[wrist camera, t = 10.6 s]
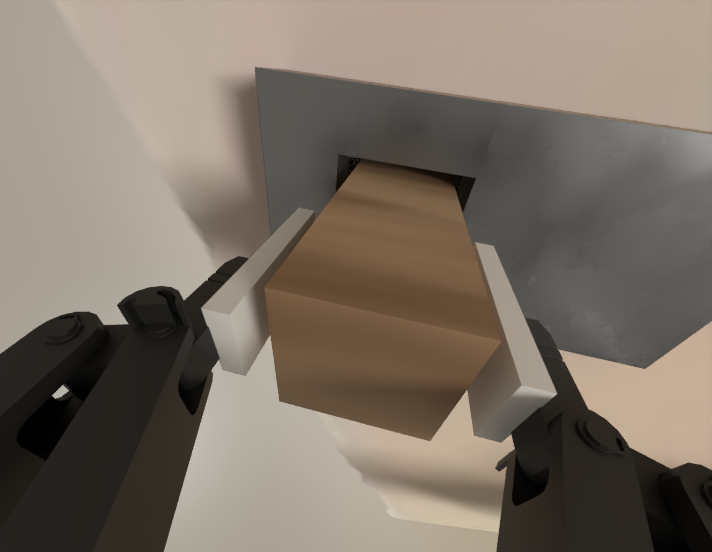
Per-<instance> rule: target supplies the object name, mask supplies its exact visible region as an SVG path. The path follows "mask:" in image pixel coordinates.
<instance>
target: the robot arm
mask: <svg viewBox="0 0 712 552" xmlns="http://www.w3.org/2000/svg"><path fill="white" fill-rule="evenodd" d="M314 221H315V211H313V210H308V209H303V208H298V209H297V210H296V211H295V212H294V213H293V214H292V215H291V216H290V217H289V218H288V219H287V220H286V221H285V222H284V223H283V224H282V225H281V226H280V227H279V228H278V229H277V230H276V231H275V233H274V234H273V235H272V236H271V237H270V238H269V239H268V240H267V241H266V242H265V243H264V244H263V245H262V246H261V247H260V248H259V249H258V250H257V251H256V252H255V253H254V254H253V255H252V256H251V257H250V258H245V257H241V256H238V257H236V258H234V259H232V260H230V261H228V262H226V263H224V264H223V265H222V266H221V267H220V268H219V269H218V270H217V271H216V273H214V274H212V275H211V276H210V277H209V278H208V281H205V282H204V283H203V284H202V285H201V286H200V287H199V288H197V289H196V290H195V291H194V292H193V293H192V294H191V295H190V296H189V297H188V298H187V299H186V300H184V301H183V299H182V296H181V295H180V293H179V291H178V290H175V289H174V288H172V287H165V286H157V287H149V288H146V289H142V290H139V291H136V292H135V293H133V294H131V295H129V296H127V297H125V298H124V299H123V300H122V301H121V302H120V303H119V304H118V305H117V306H118V307H119V309H120V311H121V312H122V314H123V316H124V317H125V319H126V321H127V322H128V324H124V325H103V323H102V322H101V321H100V319H99V318H98V316H97V315H96V314H93V313H90V312H73V313H69V314H64V315H61V316H58V317H56V318H53V319H51V320H49V321H47V322H45V323H43V324H42V325H40V326H38V327H37V328H35V329H34V330H33V331H31V332H30V333H28V334H27V335H26V336H24V337H23V338H22V339H20V340H19V341H18V342H16V343H15V344H13V345H12V346H11V347H10V348H8V349H6V350H5V351H4V352H2V353H1V354H0V552H164V549H165V545H166V542H167V538H168V535H169V531H170V528H171V524H172V520H173V517H174V513H175V510H176V507H177V503H178V500H179V496H180V492H181V489H182V486H183V482H184V478H185V475H186V471H187V468H188V464H189V461H190V458H191V454H192V450H193V447H194V443H195V440H196V437H197V433H198V429H199V426H200V422H201V419H202V416H203V412H204V409H205V405H206V402H207V398H208V394H209V391H210V388H211V384H212V379H213V373H212V371H211V370H212V368H213V367H214V365H215V364H216V363H217V361H218V360H219V361H220V364H221V367H222V369H223V370H225V371H229V372H233V373H236V374H240V375H244V376H245V375H246V374H247V372H248V371H249V369H250V367H251V366H252V364H253V362H254V360H255V359H256V357H257V355H258V354H259V352H260V350H261V349H262V347H263V346H264V344H265V342H266V341H267V339H268V337H269V336H270V327H269V319H268V312H267V304H266V297H265V289H264V287H265V286H266V285H267V283H268V282H269V281H270V279H271V278H272V277H273V275H274V274H275V273H276V271H277V270H278V269H279V267H280V266H281V265H282V263H283V262H284V261H285V260H286V258H287V257H288V256H289V254H290V253H291V252H292V250H293V249H294V248H295V246H296V245H297V244H298V242H299V241H300V240H301V238H302V237H303V236H304V235H305V233H306V232H307V231H308V229H309V228H310V227H311V225H312V224H313V223H314ZM473 249H474V252H475V255H476V258H477V262H478V265H479V268H480V271H481V275H482V278H483V281H484V285H485V288H486V291H487V294H488V298H489V301H490V304H491V307H492V311H493V314H494V317H495V320H496V324H497V327H498V330H499V333H500V337H501V340H502V342H501V343H500V344H499V346H498V347H497V349H496V350H495V351H494V353H493V354H492V356H491V357H490V358H489V360H488V361H487V363H486V364H485V365H484V367H483V368H482V370H481V371H480V372H479V374H478V375H477V376H476V378H475V379H474V381H473V382H472V383H471V385H470V386H469V388H468V389H467V390H468V397H469V404H470V411H471V418H472V424H473V431H474V436H478V437H482V438H485V439H489V440H493V441H497V442H502V441H504V440H505V439H506V438H507V437H508V436H509V435H511V434H512V438H513V442H514V446H515V449H514V450H513V451H512V452H510V453H509V454H508V455H506V456H505V457H504V458H503V459H501V460H500V461H499V462H498V464H497V466H496V468H495V469H496V470H498V471H501V470H502V469H503V468H505V467H506V466H507V470H506V478H505V486H504V495H503V503H502V511H501V519H500V527H499V535H498V543H497V552H712V470H710V469H708V468H706V467H704V466H702V465H698V464H693V463H686V464H684V465H681V466H679V467H676V468H673V469H670V468H668V467H666V466H664V465H662V464H660V463H658V462H656V461H655V460H653V459H651V458H649V457H647V456H645V455H643V454H641V453H639V452H637V451H635V450H633V449H631V448H630V447H629V446H628V444H627V442H626V441H625V440H624V438H623V437H622V436H621V434H620V433H619V432H618V430H617V429H616V428H614V427H613V426H612V425H611V424H610V423H609V422H608V421H607V420H606V419H604V418H603V417H601V416H600V415H598V414H596V413H595V412H593V411H591V410H589V409H588V408H587V406H586V404H585V402H584V400H583V398H582V396H581V394H580V392H579V390H578V388H577V386H576V384H575V382H574V380H573V378H572V376H571V374H570V372H569V370H568V368H567V366H566V364H565V362H563V361H562V359H563V358H562V356H561V354H560V352H559V350H557V346H556V344H555V342H554V340H553V338H552V336H551V334H550V333H549V332H548V331H547V330H546V329H545V328H544V326H543V325H542V324H541V323H540V322H539V321H538V320H534V319H530V318H525V317H524V315H523V313H522V311H521V308H520V306H519V304H518V301H517V299H516V297H515V295H514V292H513V290H512V288H511V285H510V283H509V281H508V278H507V276H506V274H505V271H504V269H503V267H502V264H501V262H500V260H499V257H498V255H497V253H496V250H495V248H494V246H492V245H487V244H482V243H477V242H475V244H474V246H473ZM62 385H64V386H65V387H66V388H67V389H68V390H69V391H68V392H67V393H66V394H64V395H63V396H62V397H60V398H57V399H55V398H54V397H53V396H52V395H53V394H54V393H55V392H56V391H57V390H58V389H59V388H60V387H61V386H62Z"/></svg>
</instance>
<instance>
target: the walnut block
mask: <svg viewBox="0 0 712 552" xmlns="http://www.w3.org/2000/svg"><path fill="white" fill-rule="evenodd" d="M264 289H265V297H266V304H267V312H268V319H269V327H270V334H271V341H272V349H273V356H274V364H275V371H276V379H277V386H278V393H279V401H280V402H284V403H288V404H292V405H295V406H300V407H303V408H307V409H311V410H314V411H318V412H322V413H326V414H329V415H333V416H337V417H341V418H345V419H348V420H352V421H356V422H360V423H363V424H367V425H371V426H375V427H379V428H382V429H386V430H390V431H394V432H397V433H401V434H405V435H409V436H412V437H416V438H420V439H424V440H428V441H430V440H431V439H432V438H433V436H434V435H435V433H436V432H437V431H438V429H439V428H440V427H441V425H442V424H443V422H444V421H445V420H446V418H447V417H448V415H449V414H450V413H451V411H452V410H453V408H454V407H455V406H456V404H457V403H458V401H459V400H460V399H461V397H462V396H463V395H464V393H465V392H466V390H467V389H468V388H469V386H470V385H471V383H472V382H473V381H474V379H475V378H476V376H477V375H478V374H479V372H480V371H481V370H482V368H483V367H484V365H485V364H486V363H487V361H488V360H489V358H490V357H491V356H492V354H493V353H494V351H495V350H496V349H497V347H498V346H499V344H500V343H501V342H502V340H501V337H500V333H499V330H498V327H497V324H496V320H495V317H494V314H493V311H492V307H491V304H490V301H489V298H488V294H487V291H486V288H485V285H484V281H483V278H482V275H481V271H480V268H479V265H478V262H477V258H476V255H475V252H474V249H473V245H472V242H471V239H470V236H469V232H468V229H467V226H466V223H465V219H464V216H463V213H462V210H461V206H460V203H459V200H458V197H457V193H456V190H455V187H454V184H453V180H452V177H451V174H449V173H444V172H438V171H432V170H426V169H421V168H415V167H409V166H403V165H398V164H392V163H386V162H380V161H375V160H369V159H363V158H362V159H361V161H360V162H359V163H358V165H357V166H356V167H355V169H354V170H353V171H352V173H351V174H350V175H349V177H348V178H347V179H346V181H345V182H344V183H343V184H342V186H341V187H340V188H339V190H338V191H337V192H336V194H335V195H334V196H333V198H332V199H331V200H330V202H329V203H328V204H327V206H326V207H325V208H324V210H323V211H322V212H321V213H320V215H319V216H318V217H317V219H316V220H315V221H314V223H313V224H312V225H311V227H310V228H309V229H308V231H307V232H306V233H305V235H304V236H303V237H302V238H301V240H300V241H299V242H298V244H297V245H296V246H295V248H294V249H293V250H292V252H291V253H290V254H289V256H288V257H287V258H286V260H285V261H284V262H283V263H282V265H281V266H280V267H279V269H278V270H277V271H276V273H275V274H274V275H273V277H272V278H271V279H270V281H269V282H268V283H267V285H266V286H265V287H264Z"/></svg>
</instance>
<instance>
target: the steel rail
mask: <svg viewBox="0 0 712 552" xmlns="http://www.w3.org/2000/svg"><path fill="white" fill-rule="evenodd" d="M255 74H256V84H257V95H258V105H259V115H260V125H261V136H262V146H263V156H264V167H265V177H266V187H267V197H268V208H269V218H270V228H271V236H272V235H273V234H274V233H275V231H276V230H277V229H278V228H279V227H280V226H281V225H282V224H283V223H284V222H285V221H286V220H287V219H288V218H289V217H290V216H291V215H292V214H293V213H294V212H295V211H296V210H297V209H298V208H303V209H308V210H313V211H315V220H316V219H317V217H318V216H319V215H320V213H321V212H322V211H323V210H324V208H325V207H326V206H327V204H328V203H329V202H330V200H331V199H332V198H333V196H334V195H335V194H336V192H337V191H338V190H339V188H340V187H341V186H342V184H343V183H344V182H345V181H346V179H347V178H348V176H349V165H350V156H352V157H358V158H363V159H369V160H375V161H380V162H386V163H392V164H398V165H403V166H409V167H415V168H421V169H426V170H432V171H438V172H444V173H449V174H455V175H461V176H462V178H461V181H460V184H459V187H458V190H457V192H456V193H457V197H458V200H459V203H460V206H461V210H462V213H463V216H464V219H465V223H466V226H467V229H468V232H469V236H470V239H471V242H472V245H473V246H474V244H475V242H477V243H482V244H487V245H492V246H494V248H495V250H496V253H497V255H498V257H499V260H500V262H501V264H502V267H503V269H504V271H505V274H506V276H507V278H508V281H509V283H510V285H511V288H512V290H513V292H514V295H515V297H516V299H517V301H518V304H519V306H520V308H521V311H522V313H523V315H524V317H525V318H530V319H534V320H538V321H539V322H540V323H541V324H542V325H543V326H544V328H545V329H546V330H547V331H548V332H549V333H550V334H551V336H552V338H553V340H554V342H555V344H556V346H557V349H559V350H564V351H568V352H572V353H577V354H581V355H586V356H590V357H595V358H599V359H603V360H608V361H612V362H617V363H621V364H626V365H630V366H634V367H639V368H643V369H645V368H647V367H648V366H650V365H651V364H652V363H654V362H655V361H657V360H658V359H659V358H661V357H662V356H664V355H665V354H666V353H668V352H669V351H671V350H672V349H673V348H675V347H676V346H677V345H679V344H680V343H682V342H683V341H684V340H686V339H687V338H689V337H690V336H691V335H693V334H694V333H696V332H697V331H698V330H700V329H701V328H703V327H704V326H705V325H707V324H708V323H709V322H711V321H712V132H706V131H699V130H692V129H685V128H678V127H672V126H665V125H658V124H651V123H644V122H638V121H631V120H624V119H617V118H611V117H604V116H597V115H590V114H583V113H577V112H570V111H563V110H556V109H549V108H543V107H536V106H529V105H522V104H515V103H509V102H502V101H495V100H488V99H481V98H475V97H468V96H461V95H454V94H447V93H441V92H434V91H427V90H420V89H413V88H407V87H400V86H393V85H386V84H379V83H373V82H366V81H359V80H352V79H345V78H339V77H332V76H325V75H318V74H312V73H305V72H298V71H291V70H284V69H271V68H259V67H255Z"/></svg>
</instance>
